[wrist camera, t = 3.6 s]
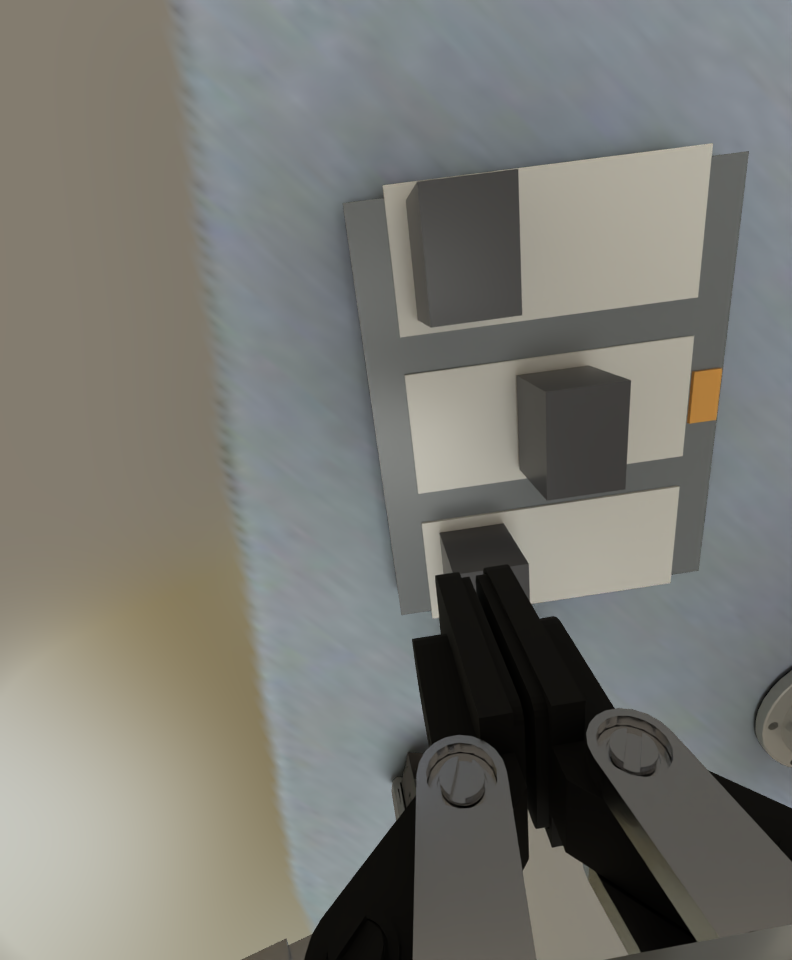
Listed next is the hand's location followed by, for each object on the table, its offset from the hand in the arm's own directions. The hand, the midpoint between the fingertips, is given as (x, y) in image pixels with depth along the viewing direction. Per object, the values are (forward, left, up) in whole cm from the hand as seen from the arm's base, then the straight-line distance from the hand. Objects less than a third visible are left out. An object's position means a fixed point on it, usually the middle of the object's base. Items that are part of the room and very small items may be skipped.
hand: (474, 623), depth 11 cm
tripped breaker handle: (-8, +1, -17) cm, 19 cm away
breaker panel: (-8, +1, -21) cm, 23 cm away
